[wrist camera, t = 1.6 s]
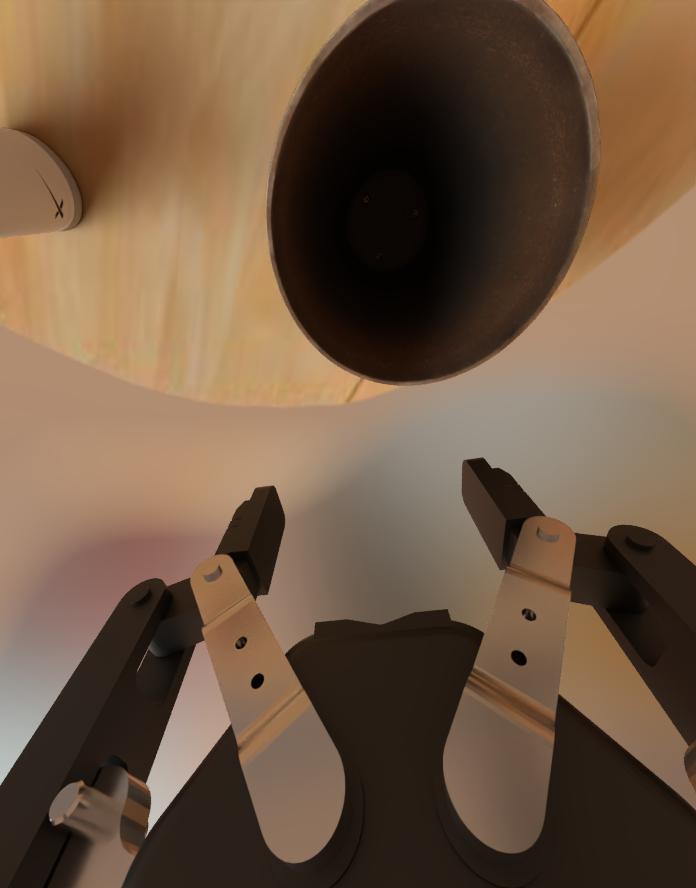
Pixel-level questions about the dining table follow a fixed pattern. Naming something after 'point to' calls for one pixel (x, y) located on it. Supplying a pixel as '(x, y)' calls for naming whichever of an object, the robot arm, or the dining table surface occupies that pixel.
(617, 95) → the dining table surface
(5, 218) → the travel mug
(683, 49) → the dining table surface
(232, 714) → the robot arm
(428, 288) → the plant pot
